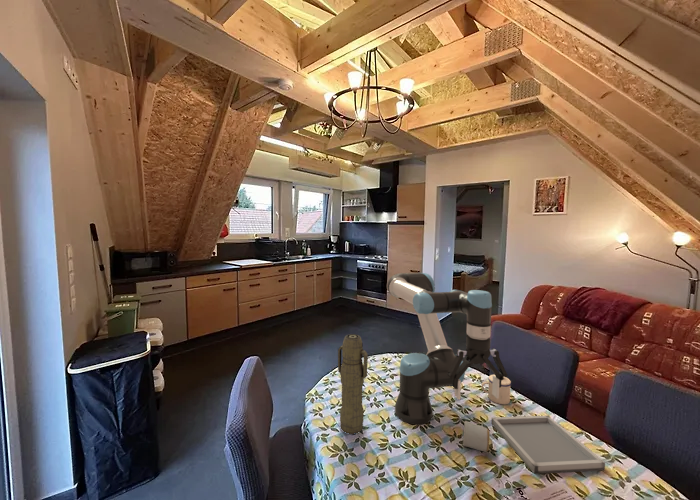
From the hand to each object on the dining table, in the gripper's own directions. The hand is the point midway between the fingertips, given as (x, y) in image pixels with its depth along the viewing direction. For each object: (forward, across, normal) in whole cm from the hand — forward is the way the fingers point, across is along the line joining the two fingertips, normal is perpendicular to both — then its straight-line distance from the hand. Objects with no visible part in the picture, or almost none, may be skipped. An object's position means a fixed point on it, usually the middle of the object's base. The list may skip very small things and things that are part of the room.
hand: (476, 396), depth 97 cm
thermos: (+18, -42, +12) cm, 47 cm away
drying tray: (+18, +24, -1) cm, 30 cm away
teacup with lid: (+18, +24, +27) cm, 40 cm away
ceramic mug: (+18, 0, +1) cm, 18 cm away
